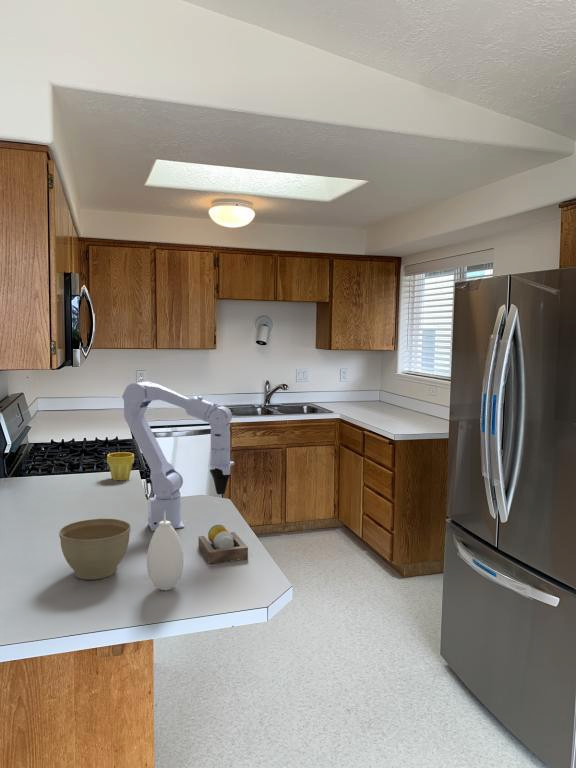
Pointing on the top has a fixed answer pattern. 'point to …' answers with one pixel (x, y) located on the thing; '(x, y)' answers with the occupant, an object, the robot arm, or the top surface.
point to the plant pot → (120, 465)
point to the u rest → (223, 550)
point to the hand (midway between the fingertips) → (220, 493)
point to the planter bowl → (94, 546)
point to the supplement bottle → (220, 537)
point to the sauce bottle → (165, 556)
